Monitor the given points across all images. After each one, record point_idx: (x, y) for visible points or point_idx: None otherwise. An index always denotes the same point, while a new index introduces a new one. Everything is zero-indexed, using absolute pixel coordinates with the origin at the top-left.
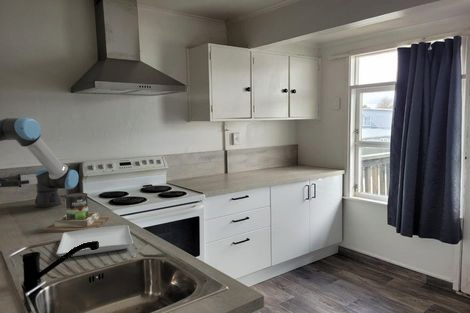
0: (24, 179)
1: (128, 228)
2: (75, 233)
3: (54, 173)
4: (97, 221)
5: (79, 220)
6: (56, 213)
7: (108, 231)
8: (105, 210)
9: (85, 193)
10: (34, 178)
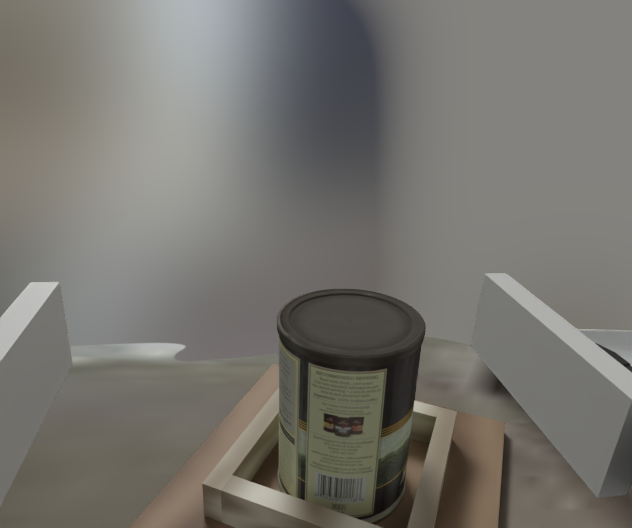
0: (614, 362)
1: (582, 330)
2: None
3: None
4: None
5: (446, 437)
6: None
7: None
8: (99, 377)
9: (326, 292)
10: (521, 290)
